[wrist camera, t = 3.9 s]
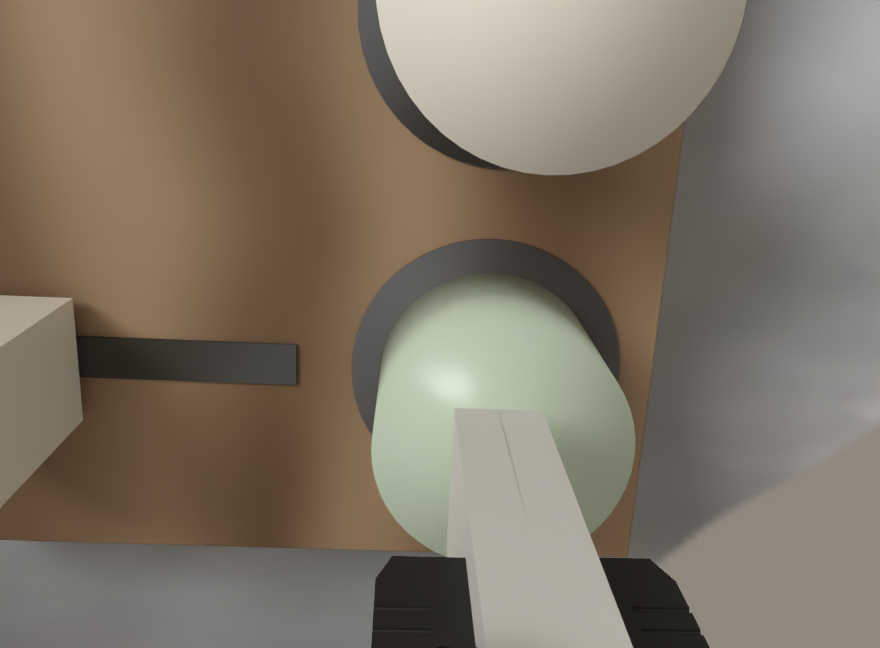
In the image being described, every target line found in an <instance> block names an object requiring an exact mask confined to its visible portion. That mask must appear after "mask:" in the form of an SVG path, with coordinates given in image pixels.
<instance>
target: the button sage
mask: <svg viewBox="0 0 880 648" xmlns="http://www.w3.org/2000/svg"><path fill="white" fill-rule="evenodd" d="M454 408H467V409H501V410H535V411H543V414H544V416H545V419H546V421H547V424H548V427H549V429H550V432H551V434H552V437H553V440H554V442H555V445H556V447H557V450H558V453H559V455H560V458H561V460H562V463H563V466H564V468H565V471H566V474H567V476H568V479H569V481H570V484H571V487H572V489H573V492H574V494H575V497H576V500H577V502H578V505H579V507H580V510H581V513H582V515H583V518H584V521H585V523H586V526H587V528H588V531H589V534H591V533H592V532H594V531H595V530H596V529H597V528H598V527H599V526H600V525H601V524H602V523H603V522H604V521H605V519H606V518H607V517H608V516H609V515H610V514H611V512H612V511H613V509H614V508H615V506H616V505H617V503H618V502H619V500H620V498H621V496H622V494H623V492H624V490H625V489H626V486H627V484H628V481H629V478H630V475H631V472H632V467H633V462H634V457H635V429H634V422H633V418H632V414H631V410H630V407H629V405H628V402H627V400H626V397H625V395H624V393H623V391H622V389H621V388H620V386H619V384H618V383H617V381H616V379H615V378H614V376H613V374H612V373H611V371H610V370H609V368H608V366H607V365H606V363H605V362H604V360H603V358H602V357H601V355H600V354H599V352H598V350H597V349H596V347H595V346H594V344H593V342H592V341H591V339H590V338H589V336H588V334H587V333H586V331H585V330H584V328H583V326H582V325H581V323H580V322H579V320H578V318H577V317H576V316H575V314H574V313H573V312H572V311H571V309H570V308H569V307H568V306H567V305H566V304H565V303H564V302H563V301H562V300H561V299H560V298H559V297H557V296H556V295H555V294H553V293H552V292H551V291H549V290H548V289H546V288H544V287H542V286H540V285H539V284H537V283H535V282H532V281H529V280H527V279H524V278H521V277H517V276H512V275H508V274H498V273H479V274H472V275H466V276H462V277H459V278H455V279H452V280H449V281H447V282H444V283H442V284H440V285H438V286H436V287H434V288H433V289H431V290H429V291H427V292H426V293H425V294H423V295H422V296H421V297H419V298H418V299H417V300H416V301H414V302H413V303H412V304H411V305H410V306H409V307H408V308H407V309H406V310H405V312H404V313H403V314H402V316H401V317H400V318H399V320H398V321H397V322H396V324H395V326H394V327H393V329H392V331H391V333H390V335H389V337H388V340H387V342H386V345H385V348H384V352H383V356H382V361H381V369H380V377H379V385H378V393H377V401H376V409H375V417H374V425H373V434H372V444H371V457H372V467H373V472H374V478H375V481H376V484H377V487H378V490H379V493H380V495H381V497H382V499H383V501H384V503H385V505H386V507H387V508H388V510H389V511H390V513H391V514H392V515H393V517H394V518H395V520H396V521H397V522H398V523H399V524H400V525H401V526H402V527H403V529H404V530H405V531H406V532H407V533H409V534H410V535H411V536H412V537H413V538H415V539H416V540H417V541H418V542H420V543H421V544H423V545H424V546H426V547H428V548H429V549H431V550H432V551H434V552H437V553H439V554H441V555H443V556H445V557H447V550H446V548H447V530H448V513H449V495H450V478H451V460H452V443H453V425H454Z"/></svg>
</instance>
